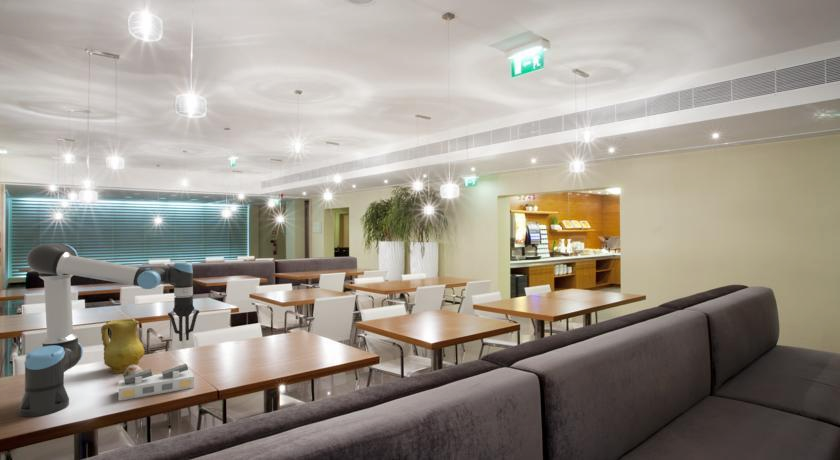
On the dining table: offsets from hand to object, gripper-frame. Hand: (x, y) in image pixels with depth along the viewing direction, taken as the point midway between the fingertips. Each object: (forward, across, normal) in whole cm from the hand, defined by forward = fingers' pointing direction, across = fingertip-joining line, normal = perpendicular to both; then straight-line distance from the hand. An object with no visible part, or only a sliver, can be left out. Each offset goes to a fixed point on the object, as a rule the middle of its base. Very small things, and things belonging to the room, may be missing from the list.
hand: (184, 347), depth 199 cm
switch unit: (+17, -11, 0) cm, 20 cm away
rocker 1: (+10, -18, 0) cm, 20 cm away
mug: (+17, -18, +20) cm, 31 cm away
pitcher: (+17, -23, +42) cm, 51 cm away
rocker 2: (+10, -4, 0) cm, 11 cm away
